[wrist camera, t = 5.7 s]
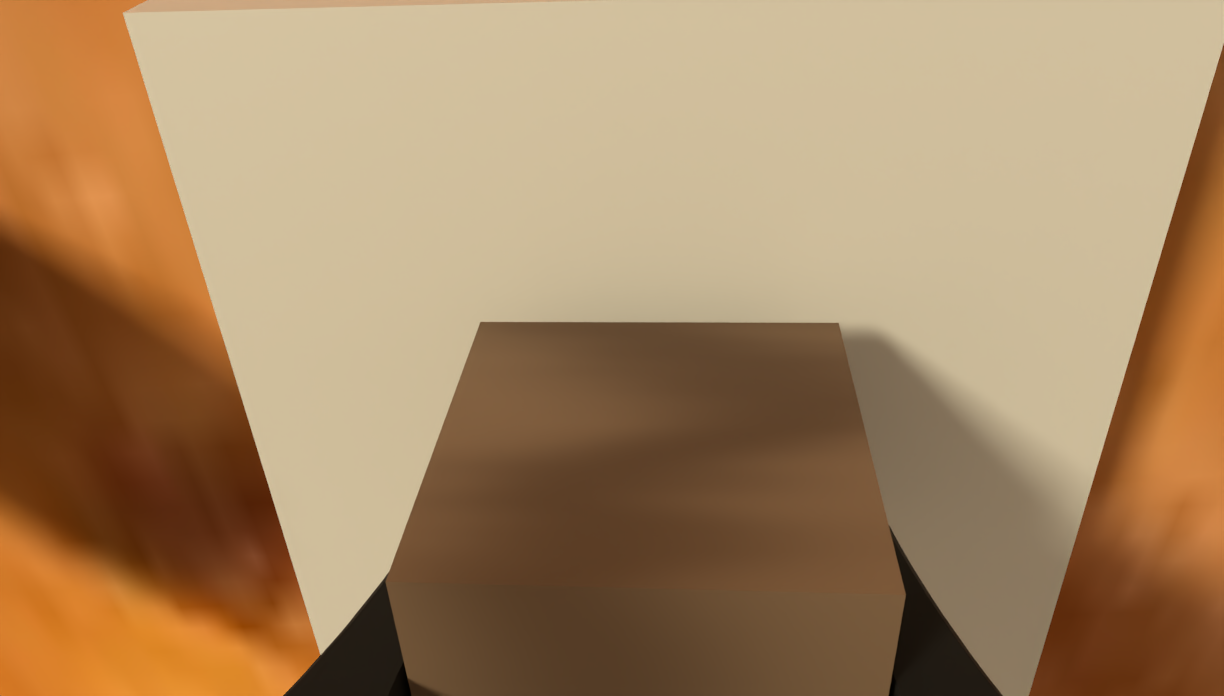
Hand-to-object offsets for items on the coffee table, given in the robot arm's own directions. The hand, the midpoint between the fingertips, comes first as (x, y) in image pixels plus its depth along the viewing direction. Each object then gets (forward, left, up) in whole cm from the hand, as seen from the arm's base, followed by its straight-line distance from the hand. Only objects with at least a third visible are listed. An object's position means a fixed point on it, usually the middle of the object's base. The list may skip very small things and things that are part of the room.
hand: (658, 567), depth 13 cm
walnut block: (0, 0, -2) cm, 2 cm away
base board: (0, 0, -5) cm, 5 cm away
